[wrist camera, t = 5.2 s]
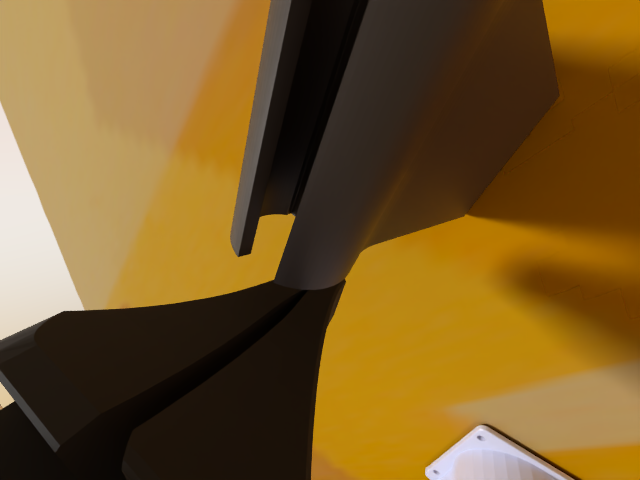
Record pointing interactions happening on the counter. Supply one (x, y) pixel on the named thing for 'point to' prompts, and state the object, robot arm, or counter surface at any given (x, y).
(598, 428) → the counter surface
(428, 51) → the door stopper
